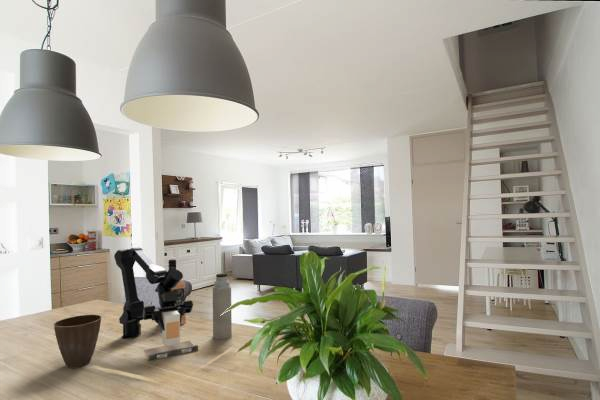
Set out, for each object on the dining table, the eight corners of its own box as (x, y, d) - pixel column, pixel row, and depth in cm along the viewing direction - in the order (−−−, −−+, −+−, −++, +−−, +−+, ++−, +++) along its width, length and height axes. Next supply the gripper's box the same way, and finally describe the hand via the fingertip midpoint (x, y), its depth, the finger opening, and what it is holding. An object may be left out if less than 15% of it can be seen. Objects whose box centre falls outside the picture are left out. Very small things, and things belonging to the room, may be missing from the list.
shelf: (149, 363, 130) (149, 356, 130) (143, 352, 141) (143, 345, 141) (198, 352, 140) (198, 345, 140) (189, 343, 151) (189, 336, 151)
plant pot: (50, 376, 121) (50, 329, 122) (56, 361, 134) (57, 318, 135) (100, 367, 128) (100, 322, 129) (101, 353, 141) (102, 312, 142)
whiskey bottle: (177, 319, 186) (177, 257, 187) (186, 323, 179) (186, 259, 180) (158, 324, 179) (157, 260, 180) (167, 328, 172) (166, 261, 173)
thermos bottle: (220, 334, 161) (220, 272, 162) (235, 336, 158) (234, 273, 159) (209, 340, 154) (208, 275, 155) (224, 342, 150) (223, 276, 151)
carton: (165, 346, 136) (165, 316, 136) (162, 342, 141) (162, 312, 141) (180, 343, 139) (180, 314, 139) (176, 339, 143) (176, 310, 144)
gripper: (143, 286, 139) (148, 321, 129) (191, 280, 149) (199, 313, 139) (140, 302, 145) (145, 337, 136) (187, 296, 155) (194, 328, 145)
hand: (171, 328), depth 139 cm, fingers closed on carton, 5 cm apart
